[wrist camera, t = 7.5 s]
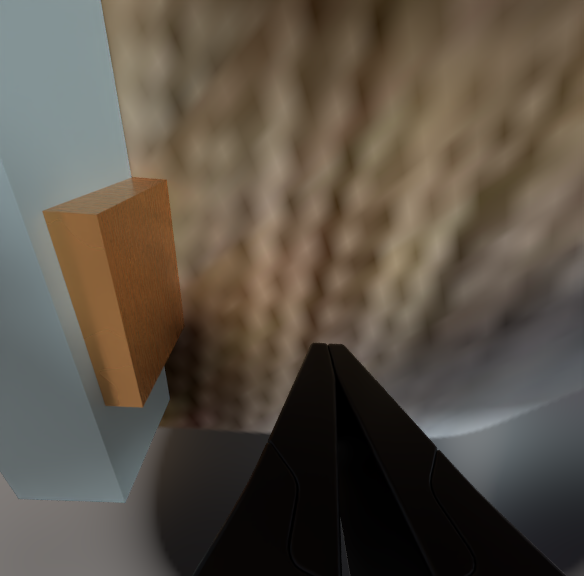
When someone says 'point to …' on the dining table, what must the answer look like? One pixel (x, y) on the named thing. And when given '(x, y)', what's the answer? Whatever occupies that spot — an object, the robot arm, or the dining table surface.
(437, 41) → the dining table surface
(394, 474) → the robot arm
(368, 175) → the dining table surface
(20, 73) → the block
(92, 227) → the pin
